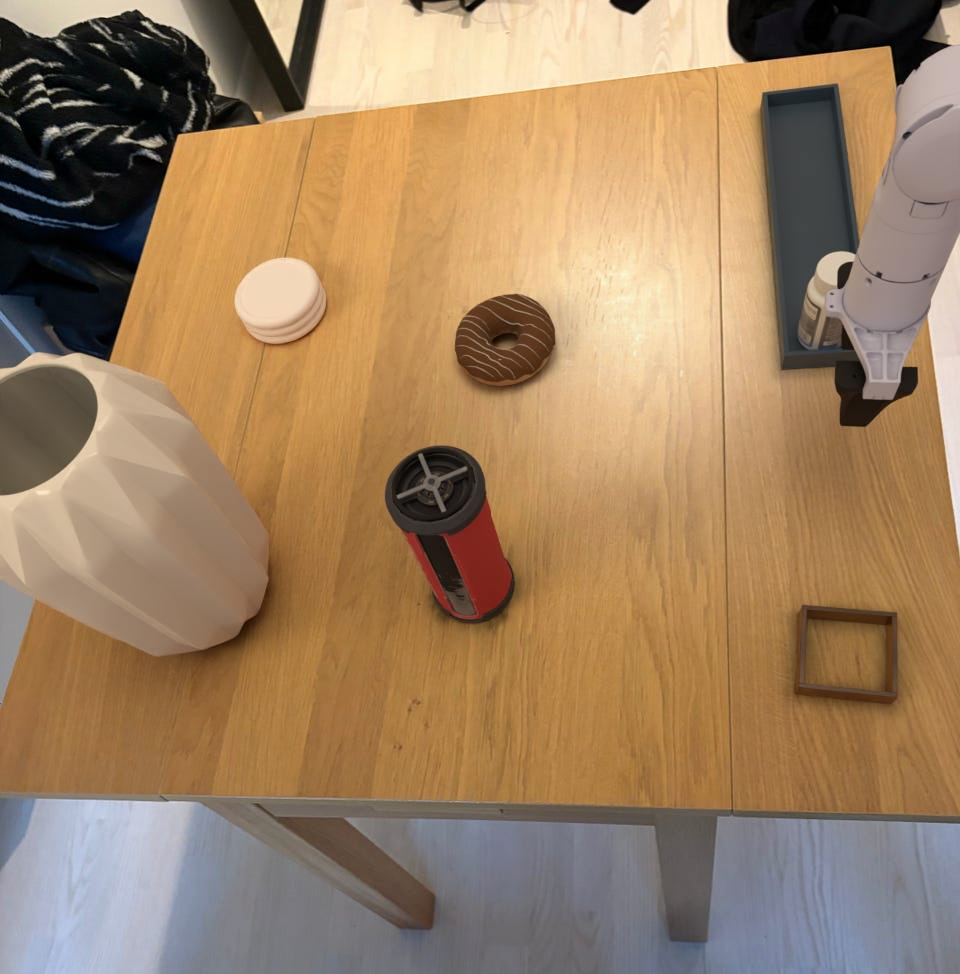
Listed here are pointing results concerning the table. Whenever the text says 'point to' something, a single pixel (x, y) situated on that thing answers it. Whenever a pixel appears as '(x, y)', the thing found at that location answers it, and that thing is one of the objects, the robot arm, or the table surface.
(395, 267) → the table surface
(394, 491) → the speaker
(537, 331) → the donut
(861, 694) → the brown wooden square frame
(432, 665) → the table surface
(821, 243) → the tray
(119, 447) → the vase
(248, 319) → the pale pink macaron
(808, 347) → the pill bottle
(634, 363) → the table surface
